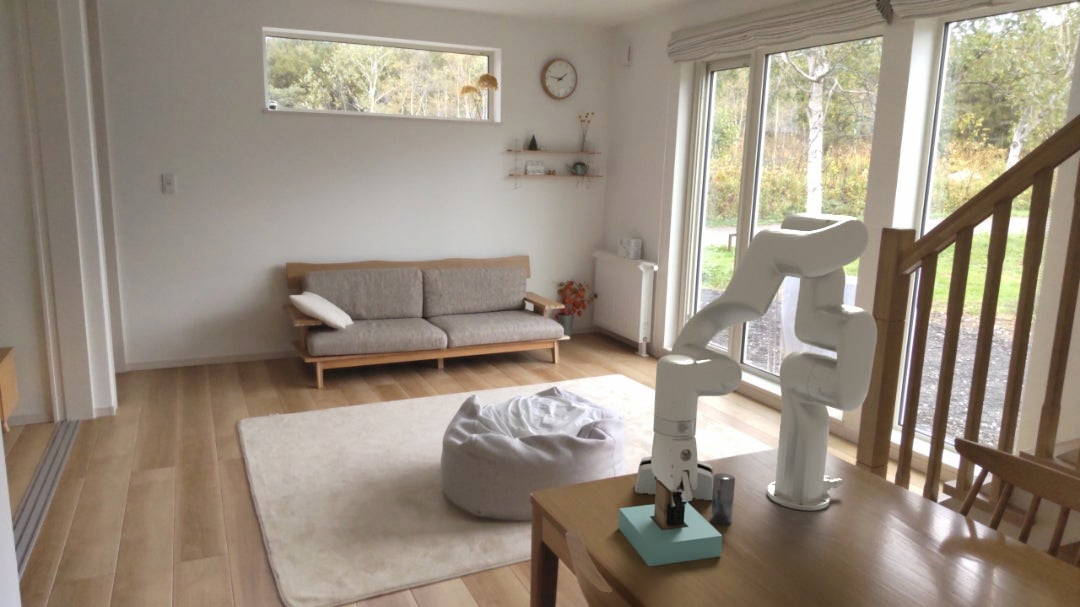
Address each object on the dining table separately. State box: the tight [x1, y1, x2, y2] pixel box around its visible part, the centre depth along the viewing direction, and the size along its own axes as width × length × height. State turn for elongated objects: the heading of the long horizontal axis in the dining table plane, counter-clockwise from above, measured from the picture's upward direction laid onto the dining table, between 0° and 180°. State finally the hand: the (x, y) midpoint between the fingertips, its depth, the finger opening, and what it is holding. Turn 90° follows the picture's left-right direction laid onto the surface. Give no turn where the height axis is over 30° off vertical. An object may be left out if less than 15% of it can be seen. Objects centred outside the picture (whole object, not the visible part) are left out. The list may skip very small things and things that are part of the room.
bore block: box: [617, 501, 723, 567], centre depth 133 cm, size 14×14×4 cm
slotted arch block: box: [634, 456, 714, 501], centre depth 153 cm, size 17×5×10 cm, turn 79°
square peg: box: [654, 480, 683, 530], centre depth 133 cm, size 4×4×9 cm
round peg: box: [710, 472, 736, 526], centre depth 142 cm, size 4×4×9 cm
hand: (669, 517), depth 133 cm, fingers closed on square peg, 3 cm apart
